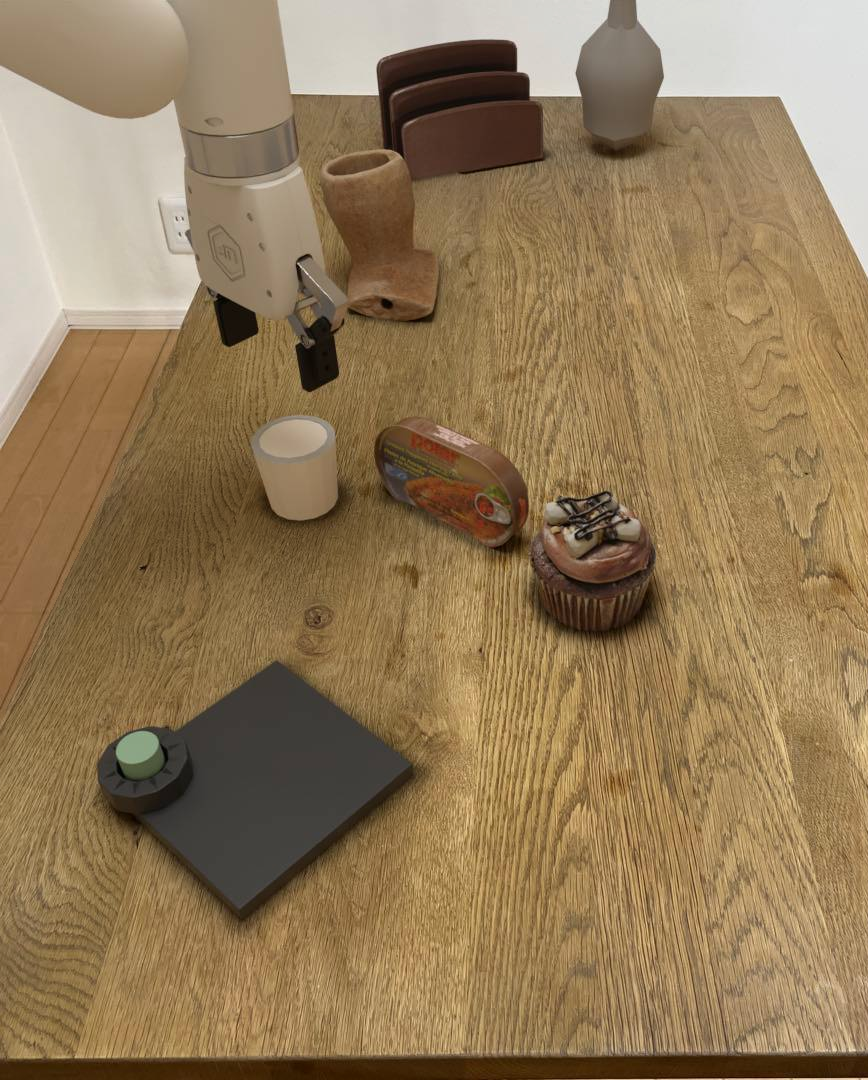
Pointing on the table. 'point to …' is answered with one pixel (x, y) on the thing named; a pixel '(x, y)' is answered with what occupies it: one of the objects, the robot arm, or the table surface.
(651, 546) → the cupcake
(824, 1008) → the table surface
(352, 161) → the clay boot vessel
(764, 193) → the table surface
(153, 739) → the button
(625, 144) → the bottle
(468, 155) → the letter holder
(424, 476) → the tin
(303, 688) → the scale
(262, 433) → the white cup
